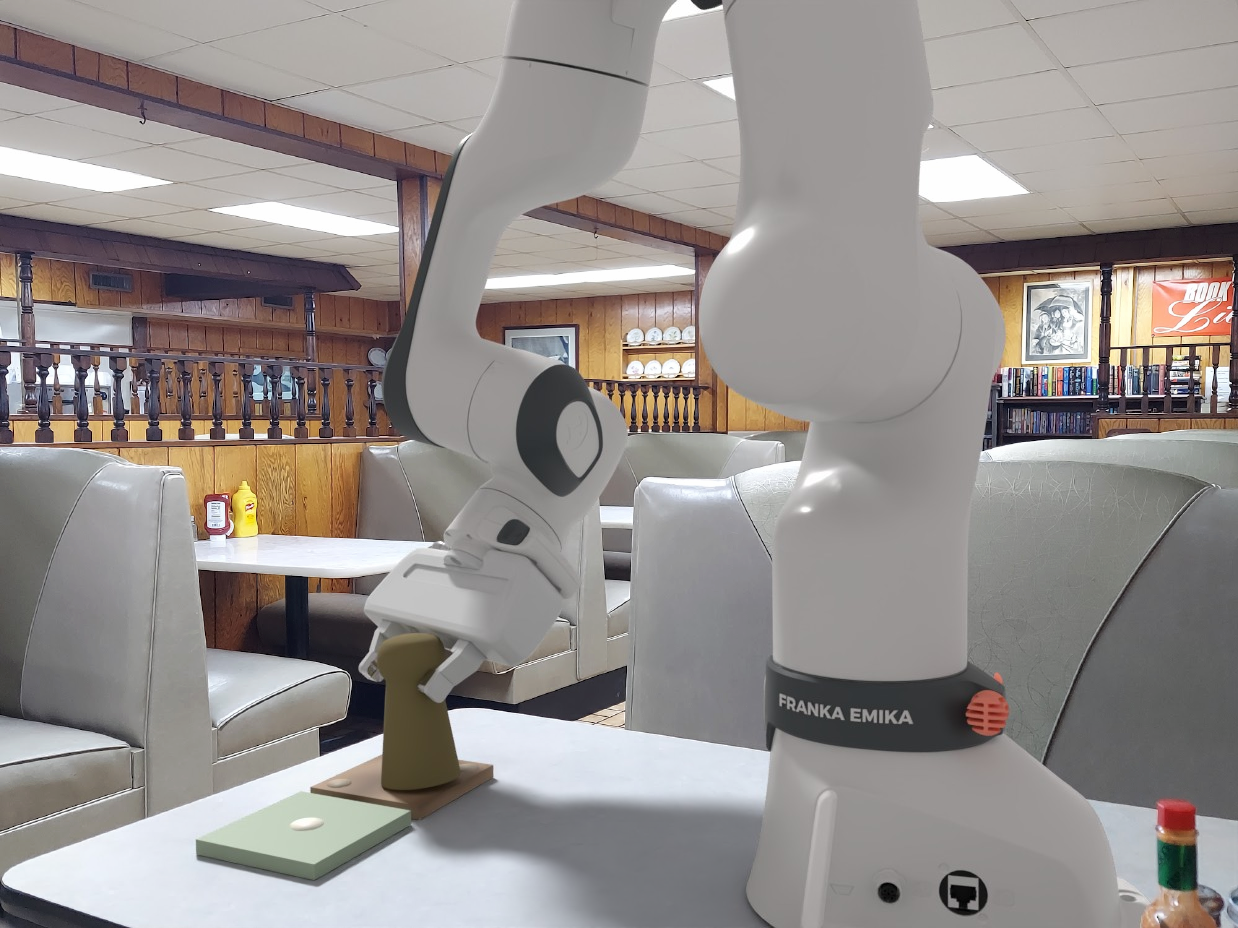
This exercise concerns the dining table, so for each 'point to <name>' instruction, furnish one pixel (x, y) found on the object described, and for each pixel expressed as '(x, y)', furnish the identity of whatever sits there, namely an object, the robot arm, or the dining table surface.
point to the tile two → (367, 788)
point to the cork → (414, 716)
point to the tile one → (304, 834)
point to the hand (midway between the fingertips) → (396, 686)
